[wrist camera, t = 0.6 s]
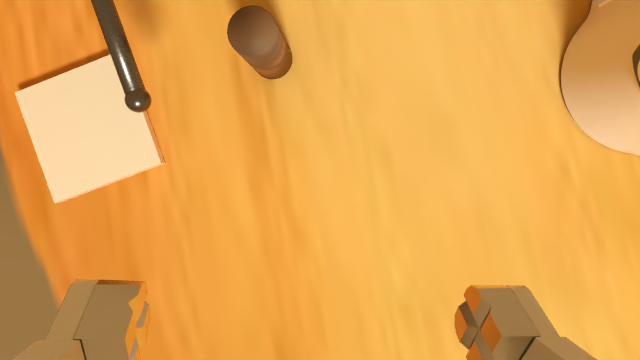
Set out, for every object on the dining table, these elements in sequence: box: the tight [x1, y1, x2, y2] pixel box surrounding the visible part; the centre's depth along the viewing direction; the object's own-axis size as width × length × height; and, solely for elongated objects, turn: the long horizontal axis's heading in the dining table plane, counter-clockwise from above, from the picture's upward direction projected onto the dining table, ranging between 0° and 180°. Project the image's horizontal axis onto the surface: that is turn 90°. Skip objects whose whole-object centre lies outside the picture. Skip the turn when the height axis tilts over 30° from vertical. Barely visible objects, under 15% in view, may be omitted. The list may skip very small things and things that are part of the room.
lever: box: [91, 0, 151, 113], centre depth 40 cm, size 2×18×10 cm, turn 20°
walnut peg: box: [227, 6, 292, 79], centre depth 40 cm, size 4×4×9 cm
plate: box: [15, 55, 165, 203], centre depth 45 cm, size 12×12×1 cm
